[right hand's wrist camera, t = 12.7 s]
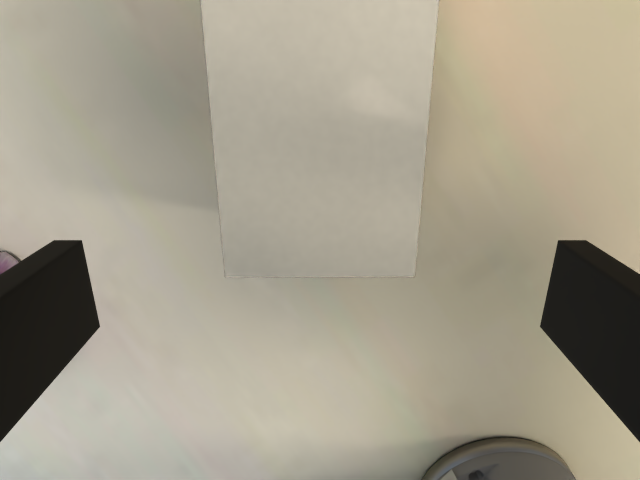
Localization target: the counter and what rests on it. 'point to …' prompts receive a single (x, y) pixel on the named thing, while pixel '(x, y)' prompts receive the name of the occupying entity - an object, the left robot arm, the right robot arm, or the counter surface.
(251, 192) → the cabinet
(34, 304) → the right robot arm
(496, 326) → the counter surface
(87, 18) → the counter surface
